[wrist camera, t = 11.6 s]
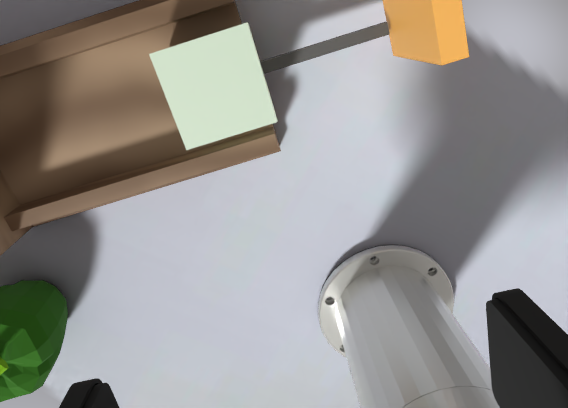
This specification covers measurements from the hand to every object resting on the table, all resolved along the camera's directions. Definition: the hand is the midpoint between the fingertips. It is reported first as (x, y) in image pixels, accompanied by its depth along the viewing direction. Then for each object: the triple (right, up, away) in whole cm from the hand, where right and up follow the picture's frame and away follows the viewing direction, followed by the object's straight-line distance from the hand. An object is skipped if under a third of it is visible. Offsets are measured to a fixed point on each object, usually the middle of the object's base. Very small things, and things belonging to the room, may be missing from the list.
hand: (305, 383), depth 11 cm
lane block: (0, +15, +22) cm, 26 cm away
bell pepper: (-23, -5, +30) cm, 38 cm away
